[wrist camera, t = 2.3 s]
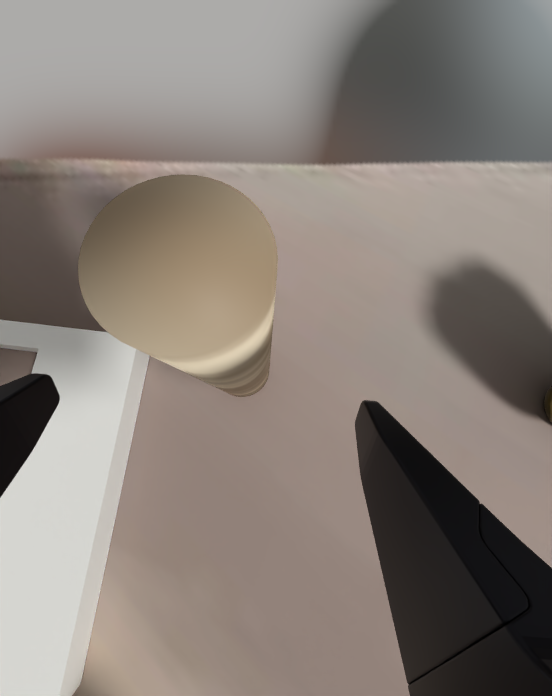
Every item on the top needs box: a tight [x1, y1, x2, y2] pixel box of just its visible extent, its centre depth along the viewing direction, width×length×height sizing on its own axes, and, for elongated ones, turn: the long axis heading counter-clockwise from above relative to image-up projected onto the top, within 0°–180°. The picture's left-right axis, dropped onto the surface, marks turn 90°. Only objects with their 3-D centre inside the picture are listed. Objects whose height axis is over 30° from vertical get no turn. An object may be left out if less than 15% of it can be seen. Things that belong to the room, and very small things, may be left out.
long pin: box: [78, 175, 278, 397], centre depth 12 cm, size 3×3×14 cm
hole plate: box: [0, 320, 150, 696], centre depth 16 cm, size 18×12×2 cm, turn 174°
